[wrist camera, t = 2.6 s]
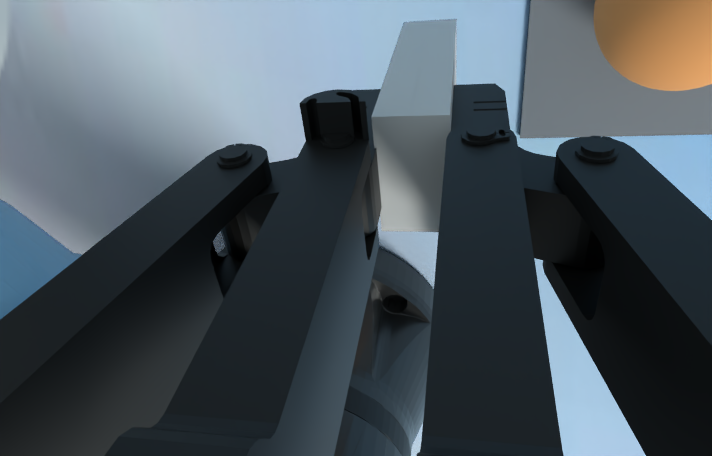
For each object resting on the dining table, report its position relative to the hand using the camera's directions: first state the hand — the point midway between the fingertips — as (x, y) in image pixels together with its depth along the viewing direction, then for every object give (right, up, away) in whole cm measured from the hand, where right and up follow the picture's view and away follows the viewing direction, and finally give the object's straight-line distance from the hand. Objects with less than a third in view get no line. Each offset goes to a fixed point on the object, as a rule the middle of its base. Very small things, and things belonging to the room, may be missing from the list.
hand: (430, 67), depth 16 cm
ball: (+10, +3, +3) cm, 11 cm away
